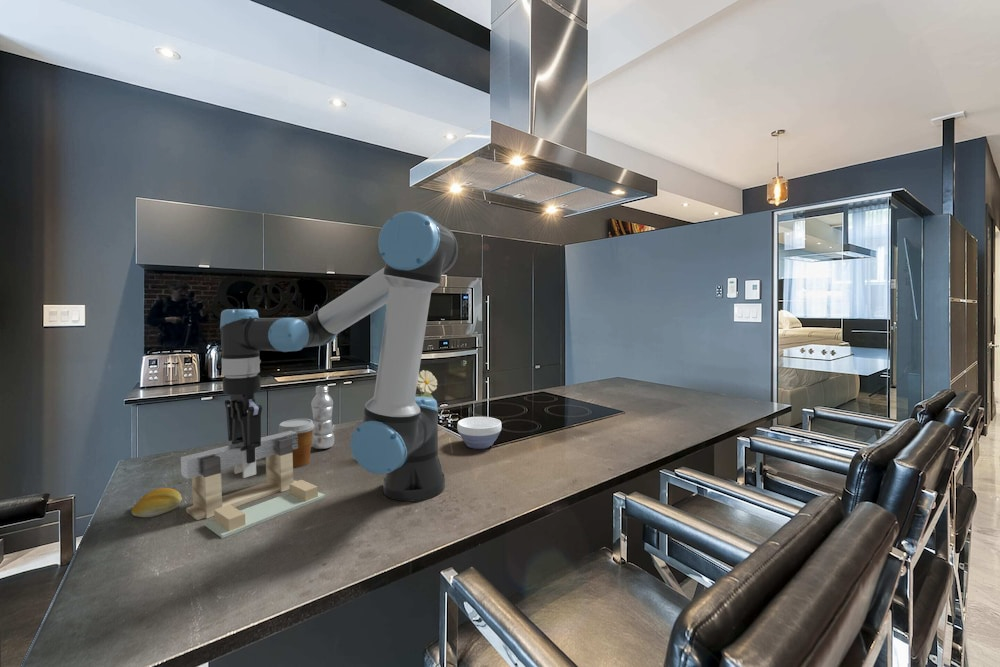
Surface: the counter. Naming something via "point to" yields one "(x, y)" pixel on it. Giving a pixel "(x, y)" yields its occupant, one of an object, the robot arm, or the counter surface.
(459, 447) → the counter surface
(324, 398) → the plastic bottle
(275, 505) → the rest pad
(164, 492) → the bread roll
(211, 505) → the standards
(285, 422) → the disposable coffee cup
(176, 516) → the counter surface
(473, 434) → the bowl
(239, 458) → the rail
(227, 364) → the robot arm
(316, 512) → the counter surface
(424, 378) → the flower in vase
